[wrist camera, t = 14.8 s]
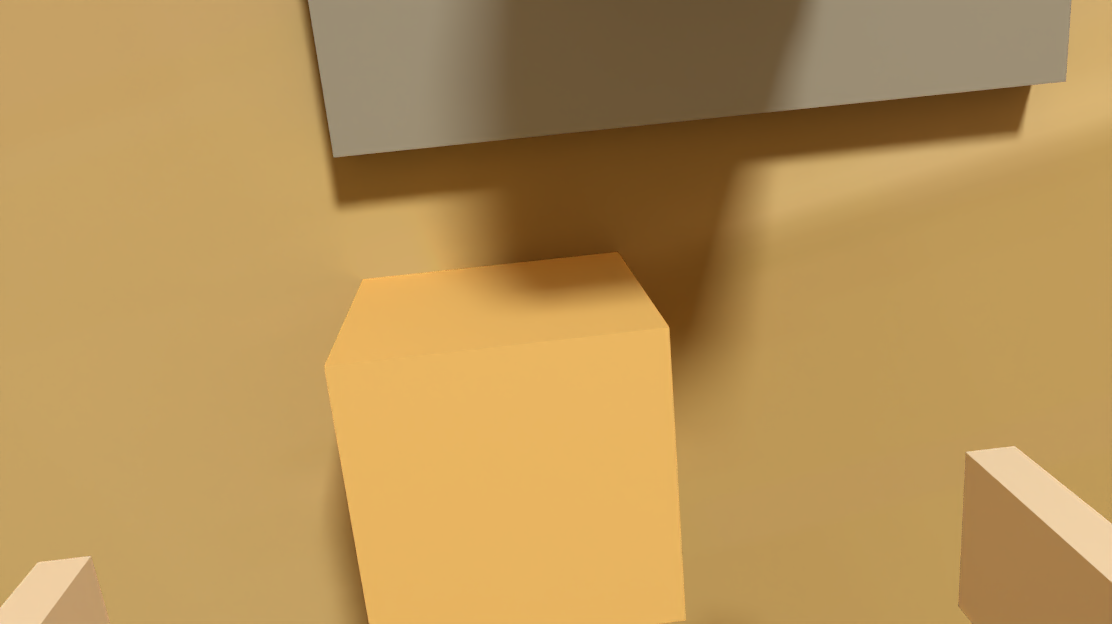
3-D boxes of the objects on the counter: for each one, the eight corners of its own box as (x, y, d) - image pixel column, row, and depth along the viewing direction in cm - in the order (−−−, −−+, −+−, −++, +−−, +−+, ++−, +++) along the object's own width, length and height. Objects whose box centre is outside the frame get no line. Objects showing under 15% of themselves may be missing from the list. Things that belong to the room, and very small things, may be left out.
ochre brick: (398, 507, 23) (375, 661, 18) (363, 278, 22) (324, 366, 16) (633, 478, 24) (685, 620, 18) (617, 250, 22) (669, 327, 16)
